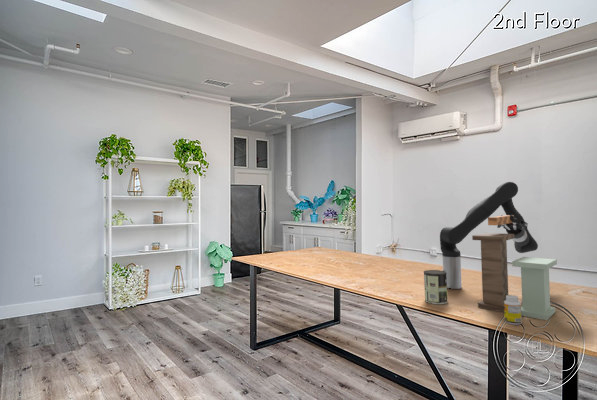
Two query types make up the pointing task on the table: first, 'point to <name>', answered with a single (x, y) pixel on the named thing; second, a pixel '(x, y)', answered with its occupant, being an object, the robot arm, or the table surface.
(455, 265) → the robot arm
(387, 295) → the table surface
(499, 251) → the tall stand
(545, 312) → the low stand
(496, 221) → the block
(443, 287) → the coffee can
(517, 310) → the supplement bottle
